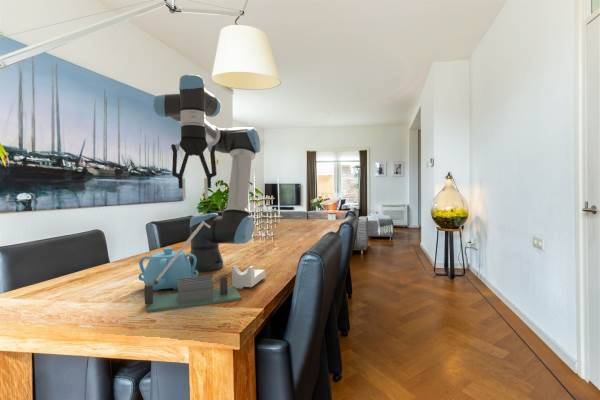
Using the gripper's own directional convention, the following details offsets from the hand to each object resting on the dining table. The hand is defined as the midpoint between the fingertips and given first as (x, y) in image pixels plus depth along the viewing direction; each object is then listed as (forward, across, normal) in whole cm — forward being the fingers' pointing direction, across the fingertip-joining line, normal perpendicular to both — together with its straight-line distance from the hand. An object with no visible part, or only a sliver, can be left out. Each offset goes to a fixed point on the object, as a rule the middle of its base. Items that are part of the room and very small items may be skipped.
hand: (195, 198), depth 104 cm
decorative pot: (+31, -9, +13) cm, 35 cm away
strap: (+17, -3, -5) cm, 18 cm away
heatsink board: (+31, -1, -5) cm, 31 cm away
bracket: (+31, +18, +6) cm, 37 cm away
